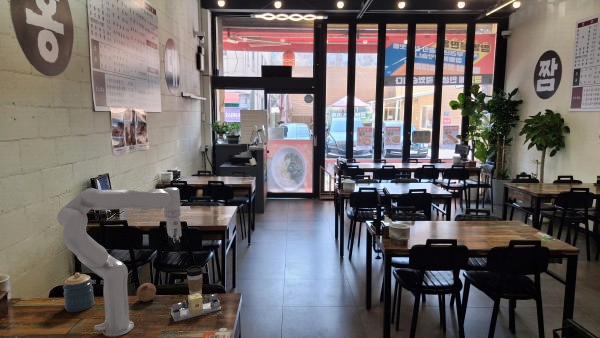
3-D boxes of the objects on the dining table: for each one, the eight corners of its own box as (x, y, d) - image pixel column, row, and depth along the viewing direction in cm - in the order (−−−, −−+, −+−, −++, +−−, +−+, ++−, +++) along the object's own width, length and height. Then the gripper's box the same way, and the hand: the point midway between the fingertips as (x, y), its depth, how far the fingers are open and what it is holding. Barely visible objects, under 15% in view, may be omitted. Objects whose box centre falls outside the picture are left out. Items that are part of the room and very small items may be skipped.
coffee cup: (206, 292, 211) (204, 265, 209) (200, 299, 202) (199, 271, 200) (191, 292, 211) (189, 265, 210) (185, 299, 203) (183, 271, 201)
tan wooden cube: (203, 310, 188) (202, 296, 187) (191, 313, 185) (190, 299, 184) (199, 306, 193) (199, 292, 192) (188, 309, 190) (187, 295, 189)
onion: (147, 308, 200) (144, 296, 194) (134, 300, 203) (130, 287, 198) (161, 295, 207) (158, 283, 201) (148, 288, 210) (145, 275, 205)
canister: (99, 300, 203) (96, 267, 201) (85, 312, 191) (82, 277, 188) (74, 300, 204) (71, 268, 202) (59, 312, 191) (55, 278, 189)
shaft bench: (174, 321, 180) (174, 307, 179) (170, 314, 187) (170, 300, 186) (220, 309, 191) (220, 295, 190) (215, 303, 198) (214, 289, 197)
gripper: (184, 215, 184) (186, 250, 186) (176, 208, 199) (177, 241, 201) (168, 217, 180) (170, 253, 182) (160, 210, 195) (162, 244, 197)
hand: (174, 247), depth 192 cm, fingers open, 9 cm apart
